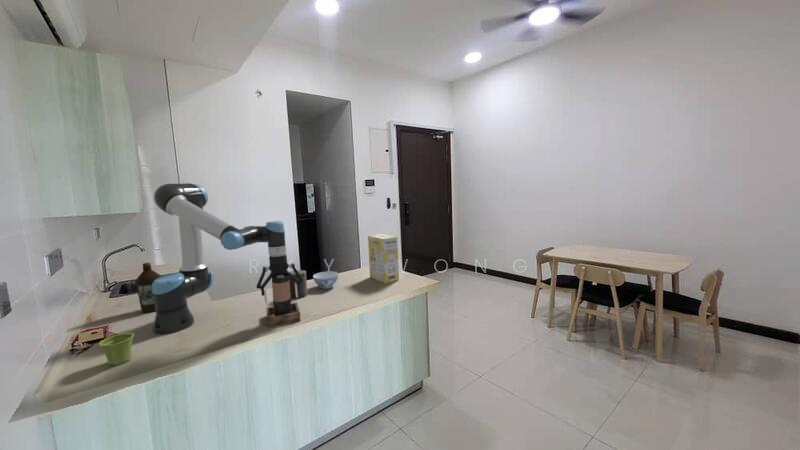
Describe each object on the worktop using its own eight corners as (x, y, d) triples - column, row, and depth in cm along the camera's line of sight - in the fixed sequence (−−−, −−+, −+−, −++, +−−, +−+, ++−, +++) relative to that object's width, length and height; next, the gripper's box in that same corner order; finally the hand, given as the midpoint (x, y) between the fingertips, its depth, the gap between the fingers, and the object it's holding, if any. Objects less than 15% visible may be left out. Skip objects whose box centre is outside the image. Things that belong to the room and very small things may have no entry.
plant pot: (106, 359, 116) (103, 337, 115) (139, 351, 121) (136, 330, 120) (99, 371, 108) (95, 348, 107) (134, 362, 113) (131, 340, 112)
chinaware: (321, 293, 180) (320, 280, 179) (309, 287, 191) (308, 275, 190) (343, 286, 190) (342, 274, 189) (331, 281, 201) (330, 270, 200)
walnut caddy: (267, 327, 138) (266, 318, 137) (267, 315, 151) (266, 307, 150) (300, 320, 143) (299, 312, 143) (297, 310, 156) (296, 302, 156)
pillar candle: (293, 300, 170) (291, 273, 169) (287, 295, 178) (285, 269, 176) (310, 295, 177) (308, 270, 175) (303, 291, 184) (301, 266, 182)
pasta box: (398, 280, 199) (397, 236, 196) (385, 283, 193) (383, 239, 189) (383, 274, 214) (381, 233, 210) (370, 277, 207) (367, 235, 204)
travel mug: (295, 314, 148) (292, 274, 144) (281, 321, 142) (279, 279, 138) (284, 310, 152) (281, 271, 148) (270, 316, 145) (267, 276, 141)
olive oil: (143, 308, 167) (136, 262, 164) (167, 304, 171) (161, 259, 168) (137, 315, 157) (129, 267, 154) (163, 310, 162) (156, 263, 159)
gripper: (247, 260, 135) (252, 307, 137) (306, 253, 145) (310, 297, 147) (248, 256, 142) (252, 301, 144) (304, 250, 151) (308, 292, 154)
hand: (281, 299), depth 146 cm, fingers open, 13 cm apart
